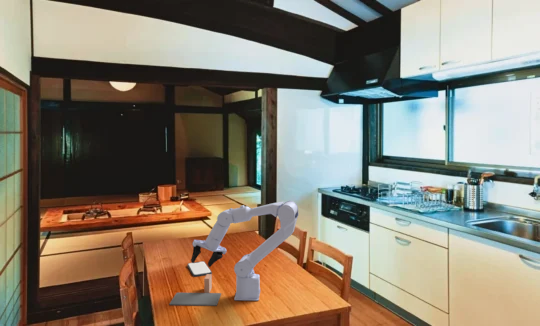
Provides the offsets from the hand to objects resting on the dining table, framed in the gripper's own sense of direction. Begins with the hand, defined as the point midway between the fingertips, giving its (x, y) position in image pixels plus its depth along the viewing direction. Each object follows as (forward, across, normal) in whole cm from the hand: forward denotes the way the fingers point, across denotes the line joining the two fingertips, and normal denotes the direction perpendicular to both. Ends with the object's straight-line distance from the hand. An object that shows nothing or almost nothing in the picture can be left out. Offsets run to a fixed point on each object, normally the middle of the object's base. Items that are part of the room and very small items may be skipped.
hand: (200, 263), depth 148 cm
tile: (+9, -7, +4) cm, 12 cm away
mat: (+10, -1, +10) cm, 14 cm away
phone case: (+16, -12, -19) cm, 28 cm away
